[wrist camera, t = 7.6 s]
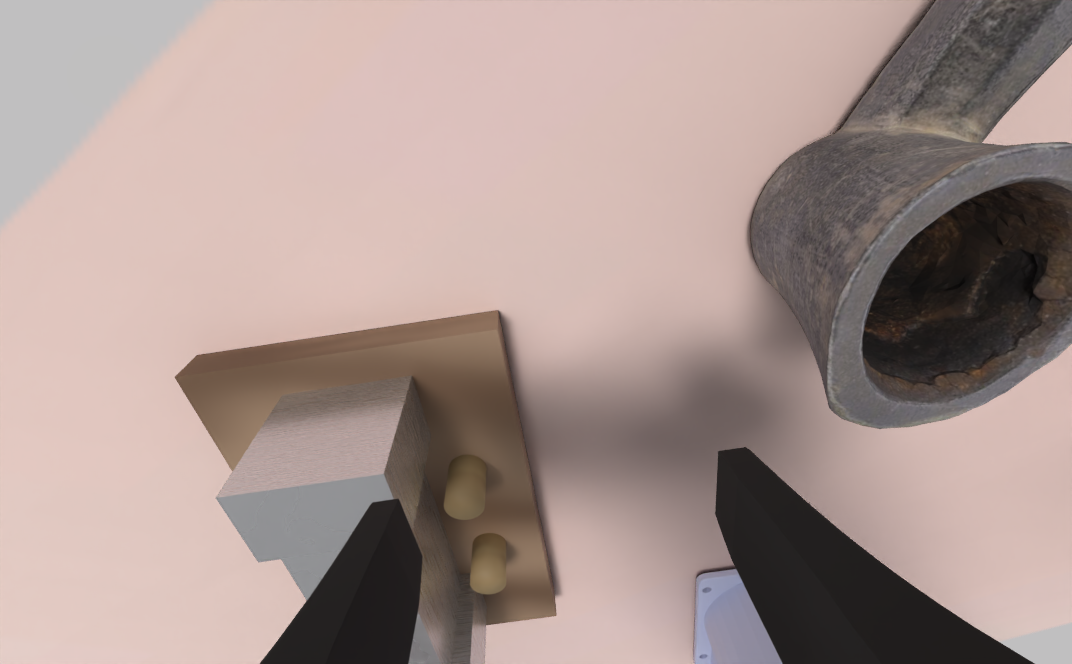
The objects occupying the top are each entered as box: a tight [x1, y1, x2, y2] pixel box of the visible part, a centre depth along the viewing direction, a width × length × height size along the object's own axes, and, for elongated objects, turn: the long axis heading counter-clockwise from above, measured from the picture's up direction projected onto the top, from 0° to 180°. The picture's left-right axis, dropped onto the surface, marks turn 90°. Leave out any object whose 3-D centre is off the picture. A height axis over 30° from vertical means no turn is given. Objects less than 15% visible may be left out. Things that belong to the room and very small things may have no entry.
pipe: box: [751, 0, 1072, 429], centre depth 13 cm, size 6×13×8 cm, turn 154°
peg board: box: [175, 310, 556, 625], centre depth 22 cm, size 18×12×4 cm, turn 8°
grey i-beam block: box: [216, 376, 487, 664], centre depth 20 cm, size 15×5×5 cm, turn 8°
